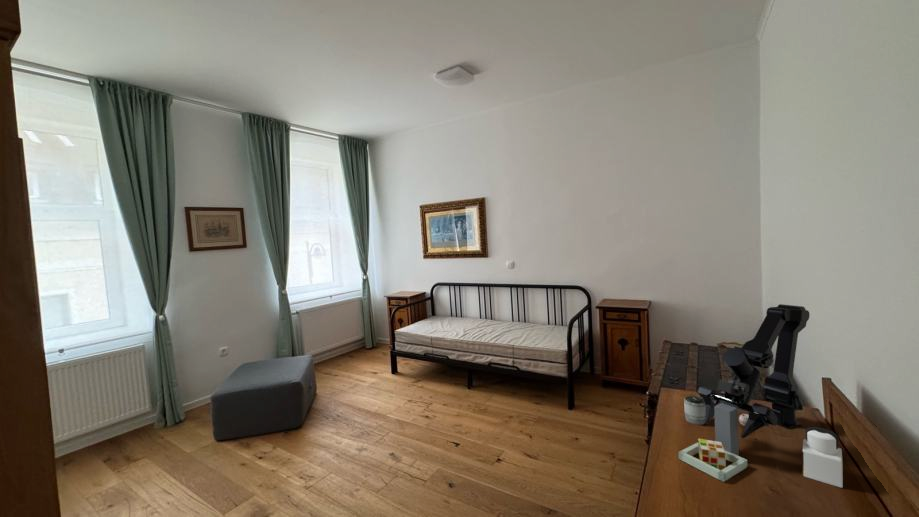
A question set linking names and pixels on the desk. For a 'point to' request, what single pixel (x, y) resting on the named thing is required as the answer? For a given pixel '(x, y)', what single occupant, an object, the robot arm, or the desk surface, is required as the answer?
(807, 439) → the medicine bottle
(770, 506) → the desk surface
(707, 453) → the rubik's cube
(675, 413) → the desk surface
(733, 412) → the grey block with frame
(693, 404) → the camera lens
